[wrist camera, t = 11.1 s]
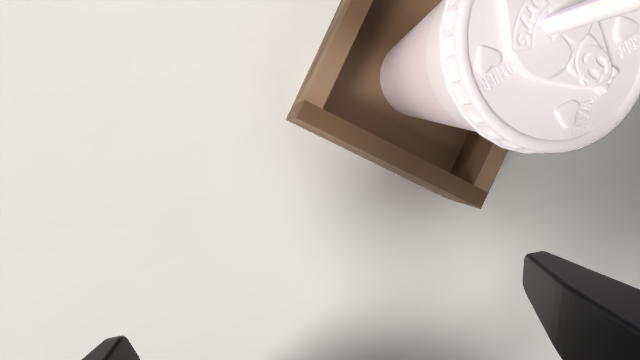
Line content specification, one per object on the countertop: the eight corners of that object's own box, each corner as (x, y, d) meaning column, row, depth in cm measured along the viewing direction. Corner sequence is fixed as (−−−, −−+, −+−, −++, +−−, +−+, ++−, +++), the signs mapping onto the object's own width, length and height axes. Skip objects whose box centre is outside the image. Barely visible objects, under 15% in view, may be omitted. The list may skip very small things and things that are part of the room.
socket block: (448, 199, 24) (480, 208, 21) (286, 119, 22) (296, 118, 19) (525, 34, 24) (568, 21, 21) (370, -62, 21) (393, -92, 19)
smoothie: (403, -21, 21) (720, -285, 8) (502, 63, 23) (913, -35, 9) (325, 92, 21) (511, 25, 8) (429, 171, 23) (742, 231, 9)
